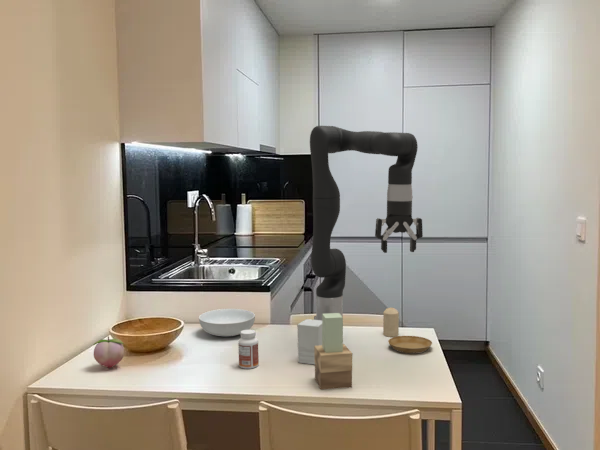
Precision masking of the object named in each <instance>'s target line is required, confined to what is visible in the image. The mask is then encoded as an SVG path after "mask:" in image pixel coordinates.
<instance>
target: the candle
mask: <svg viewBox="0 0 600 450" xmlns="http://www.w3.org/2000/svg"><path fill="white" fill-rule="evenodd" d="M382 313H383V316H382V317H383V326H382V327H383V332H382V334H383V336H384V337H388V338H393V337H397V336H399V330H400V328H399V325H400V323H399V322H400V321H399V320H400V319H399V316H400V315H399V314H400V313H399V310H398V309H396V308H394V307H386V309H385V310H384V311H383V312H382Z"/></svg>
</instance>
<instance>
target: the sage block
mask: <svg viewBox="0 0 600 450" xmlns="http://www.w3.org/2000/svg"><path fill="white" fill-rule="evenodd" d="M343 334H344V317H342V316H341V315H340V313H327V314H322V348H323V349H324V351H325V353H330V352H343V344H344V343H343V342H344V335H343Z"/></svg>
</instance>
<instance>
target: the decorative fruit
mask: <svg viewBox="0 0 600 450" xmlns="http://www.w3.org/2000/svg"><path fill="white" fill-rule="evenodd" d="M94 345H95V346H94ZM93 346H94V349H93V358H94V360H95V361H96V362H97V363H98V364H99V365H101V366H103V367H106V368H108V369H110V368H112V367H114V366H115V365H118V364H119V363H120V362H121V361H122V360H123V358H124V355H125V348H124V342H123V341H122V340H121V339H118V338H110V336H107V338H106V339H98V340H97V341H95V342H94V343H93Z"/></svg>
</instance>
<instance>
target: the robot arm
mask: <svg viewBox="0 0 600 450" xmlns="http://www.w3.org/2000/svg"><path fill="white" fill-rule="evenodd" d="M418 147H419V146H418V141H417V138H416V136H415V135H414V134H412V133H410V132H395V131H394V132H389V131H388V132H383V131H376V130H375V131H374V130H373V131H372V130H364V131H354V130H353V131H352V130H348V129H344V128H341V127H338V126H333V125H315V126H314V127H313V128H312V130H311V132H310V134H309V150H310V158H311V168H312V172H311V173H312V187H313V188H312V211H313V212H312V213H313V215H312V217H313V221H312V222H313V223H312V224H313V225H312V226H313V227H312V243H311V244H312V245H311V257H310V258H311V259H310V264H311V269H312V273H314V275H315V276H316V277H317V278H323V280H322V282H320V284H318V285H317V286H316V289H315V306H316V307H315V309H316V314H315V316H314V317H313V320H322V314H327V313H340V315H341V316H342V317H343V315H344V314H343V313H344V311H343V307H344V305H343V300H344V299H343V295H344V294H343V293H344V290H345V287H346V272H347V261H346V258H345V254H344V253H343V251H342V250H341V249H338V248H331V238H332V234H333V231H334V228H335V226H336V223H337V222H338V220H339V219H338V218H339V216H340V213H341V194H340V188H339V186H338V184H337V182H336V180H335V178H334V176H333V175H332V172H331V169H330V163H329V154H335V153H341V152H347V151H348V152H349V151H353V152H354V151H355V152H359V153H364V154H367V155H368V154H369V155H383V156H390V157H397V158H396V162H395V163H394V164H392V165H390V166H389V167H388V176H387V177H388V178H387V183H388V184H387V192H386V218H378V217H377V218H376V219H375V230H374V237H375V238H377V239H379V240H380V241H381V242H380V249H381V250H380V251H382V253H384V254H386V253H388V240H387V239H388V238H389V237H390V236H391V235H392V233H394V234H397V233H401V234H405V233H406V234H407V235H408V236H409V238H410V239H409V251H410V252H411V253H414V252H415V251H416V250H417V240H418V239H422V238H423V236H424V235H423V219H422V218H421V217H416V218H413V188H412V187H413V186H412V182H413V176H412V175H413V168H414V166H415V162H416V158H417V157H416V156H417V154H418ZM413 224H414V225H415V232H416V233H414V231H413V229H412V228H411V226H412V225H413ZM384 225H386V226H387V227H386V229H384V232H383V233H382V228H383V226H384ZM343 318H344V317H343Z"/></svg>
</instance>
